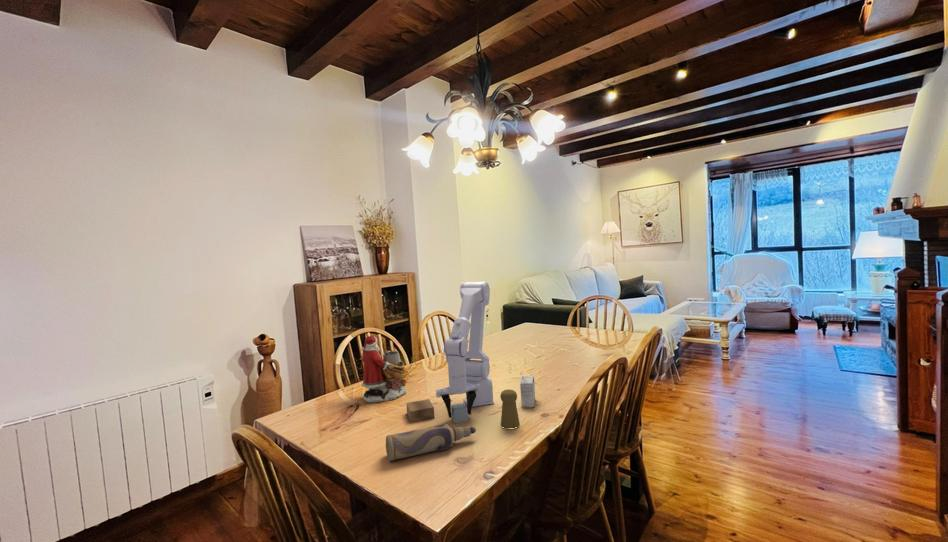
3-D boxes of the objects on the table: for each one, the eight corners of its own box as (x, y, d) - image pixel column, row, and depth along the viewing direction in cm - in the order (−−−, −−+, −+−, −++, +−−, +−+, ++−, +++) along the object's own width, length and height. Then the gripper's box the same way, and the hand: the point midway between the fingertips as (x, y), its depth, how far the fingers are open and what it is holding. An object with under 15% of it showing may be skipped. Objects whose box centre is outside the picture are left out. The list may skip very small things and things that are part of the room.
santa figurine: (409, 388, 162) (404, 328, 161) (404, 401, 148) (398, 336, 147) (368, 391, 162) (362, 331, 160) (359, 405, 148) (353, 339, 146)
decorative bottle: (389, 467, 103) (387, 442, 103) (385, 454, 110) (384, 431, 110) (481, 446, 112) (480, 423, 111) (472, 435, 119) (471, 413, 118)
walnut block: (429, 410, 139) (428, 399, 139) (434, 418, 132) (433, 407, 132) (407, 414, 137) (406, 402, 137) (410, 423, 129) (409, 411, 129)
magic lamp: (377, 381, 173) (375, 356, 173) (418, 378, 174) (417, 353, 174) (374, 386, 166) (372, 361, 166) (417, 383, 168) (415, 358, 167)
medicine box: (534, 408, 136) (533, 383, 135) (521, 407, 137) (520, 383, 136) (535, 399, 143) (534, 376, 143) (523, 399, 144) (521, 375, 144)
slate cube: (464, 416, 132) (464, 402, 132) (468, 421, 128) (467, 407, 128) (451, 418, 131) (451, 404, 131) (454, 423, 127) (453, 410, 127)
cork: (521, 421, 125) (520, 388, 125) (517, 430, 120) (515, 395, 119) (503, 420, 127) (501, 386, 127) (498, 428, 122) (496, 393, 121)
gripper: (437, 381, 123) (439, 423, 124) (481, 375, 127) (484, 416, 128) (433, 374, 130) (436, 415, 131) (476, 369, 134) (478, 408, 134)
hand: (459, 415), depth 130 cm, fingers open, 6 cm apart
